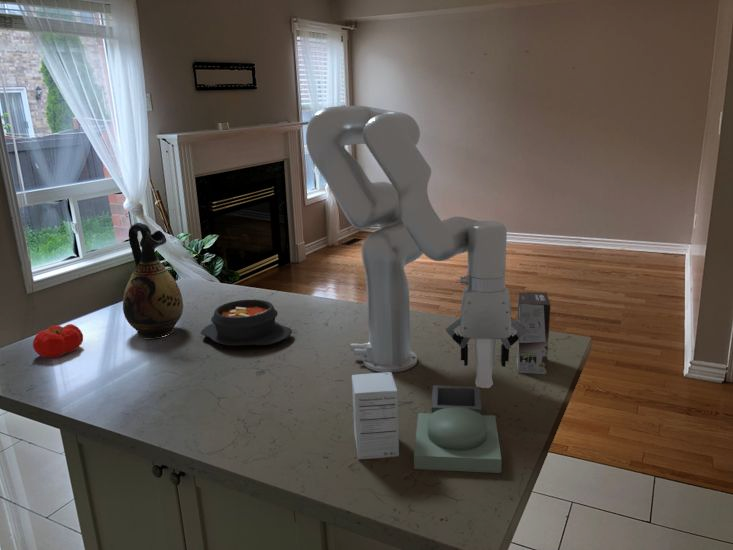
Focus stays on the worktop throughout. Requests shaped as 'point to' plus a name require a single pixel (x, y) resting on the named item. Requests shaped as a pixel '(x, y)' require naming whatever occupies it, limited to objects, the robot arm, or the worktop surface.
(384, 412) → the supplement box
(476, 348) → the perfume bottle
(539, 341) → the coffee box
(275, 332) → the casserole
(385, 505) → the worktop surface
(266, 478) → the worktop surface
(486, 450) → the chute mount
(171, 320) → the ceramic jug
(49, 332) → the tomato
